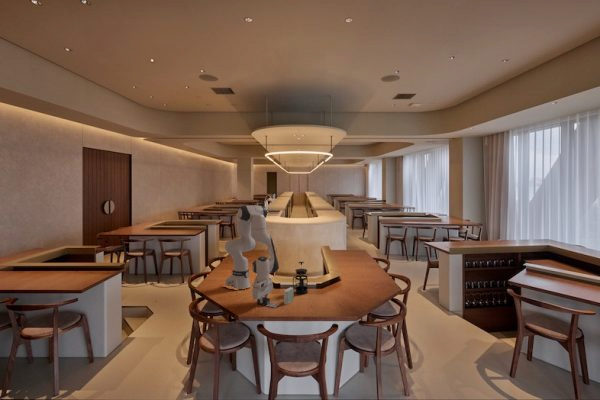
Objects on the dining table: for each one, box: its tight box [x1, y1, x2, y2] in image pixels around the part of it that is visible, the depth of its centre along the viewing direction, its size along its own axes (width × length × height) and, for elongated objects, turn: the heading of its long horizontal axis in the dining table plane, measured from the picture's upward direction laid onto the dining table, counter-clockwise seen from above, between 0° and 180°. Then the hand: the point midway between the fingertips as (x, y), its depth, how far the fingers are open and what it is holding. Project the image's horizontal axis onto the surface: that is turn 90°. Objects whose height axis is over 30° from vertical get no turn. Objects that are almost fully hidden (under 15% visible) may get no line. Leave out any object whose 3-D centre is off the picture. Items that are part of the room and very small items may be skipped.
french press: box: [292, 261, 309, 295], centre depth 232 cm, size 12×9×23 cm
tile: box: [283, 286, 294, 306], centre depth 213 cm, size 3×9×9 cm, turn 153°
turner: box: [256, 296, 281, 309], centre depth 208 cm, size 15×6×4 cm, turn 63°
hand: (263, 301), depth 210 cm, fingers closed on turner, 3 cm apart
